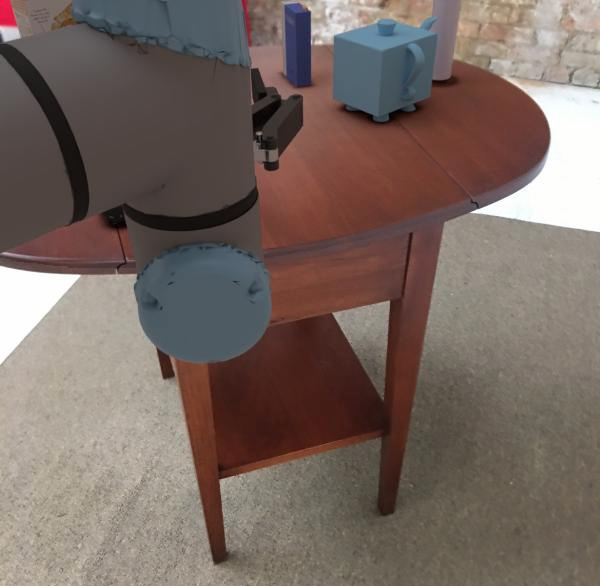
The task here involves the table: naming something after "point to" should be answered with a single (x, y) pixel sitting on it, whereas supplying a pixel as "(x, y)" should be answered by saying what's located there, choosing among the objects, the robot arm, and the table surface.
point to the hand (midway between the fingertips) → (184, 88)
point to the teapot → (384, 66)
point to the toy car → (115, 216)
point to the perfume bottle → (445, 36)
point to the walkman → (296, 42)
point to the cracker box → (41, 15)
